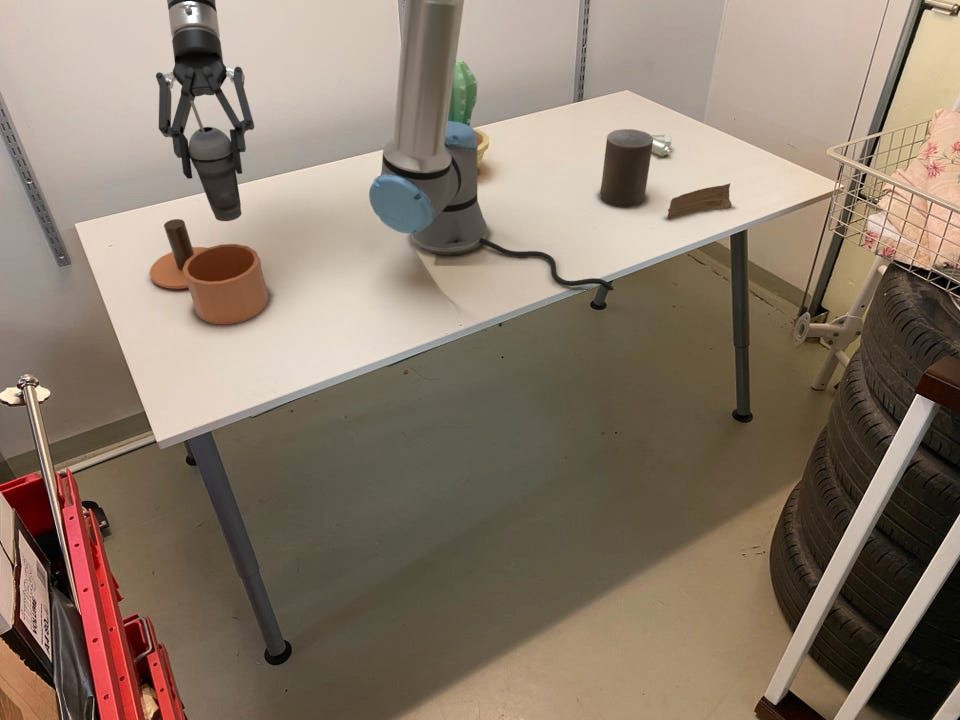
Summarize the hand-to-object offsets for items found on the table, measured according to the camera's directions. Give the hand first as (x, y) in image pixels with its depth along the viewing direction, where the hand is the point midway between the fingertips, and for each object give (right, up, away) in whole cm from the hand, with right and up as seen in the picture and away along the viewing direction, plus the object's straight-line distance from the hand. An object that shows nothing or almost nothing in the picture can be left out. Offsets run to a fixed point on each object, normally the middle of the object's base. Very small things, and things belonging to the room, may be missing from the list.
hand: (213, 173), depth 118 cm
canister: (-1, -20, +13) cm, 24 cm away
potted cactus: (+38, +14, +52) cm, 66 cm away
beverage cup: (-1, -5, +9) cm, 10 cm away
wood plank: (+90, +1, +37) cm, 97 cm away
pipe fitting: (+86, +20, +59) cm, 106 cm away
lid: (-12, -13, +20) cm, 27 cm away
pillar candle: (+75, +5, +42) cm, 86 cm away
